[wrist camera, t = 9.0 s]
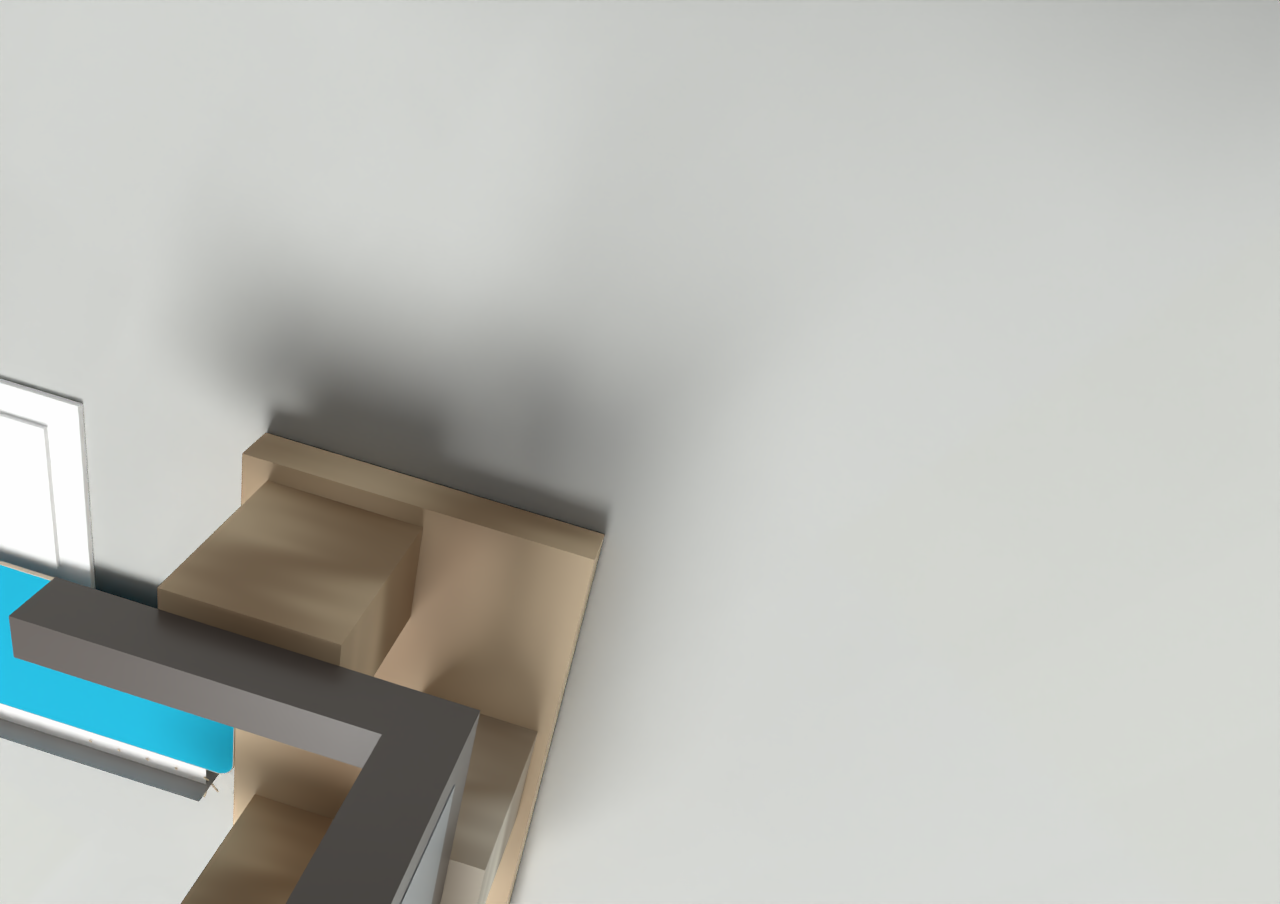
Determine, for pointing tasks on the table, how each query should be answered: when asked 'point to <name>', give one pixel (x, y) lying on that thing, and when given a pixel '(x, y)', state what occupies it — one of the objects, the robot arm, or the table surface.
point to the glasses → (284, 729)
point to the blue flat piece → (62, 547)
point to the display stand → (388, 646)
